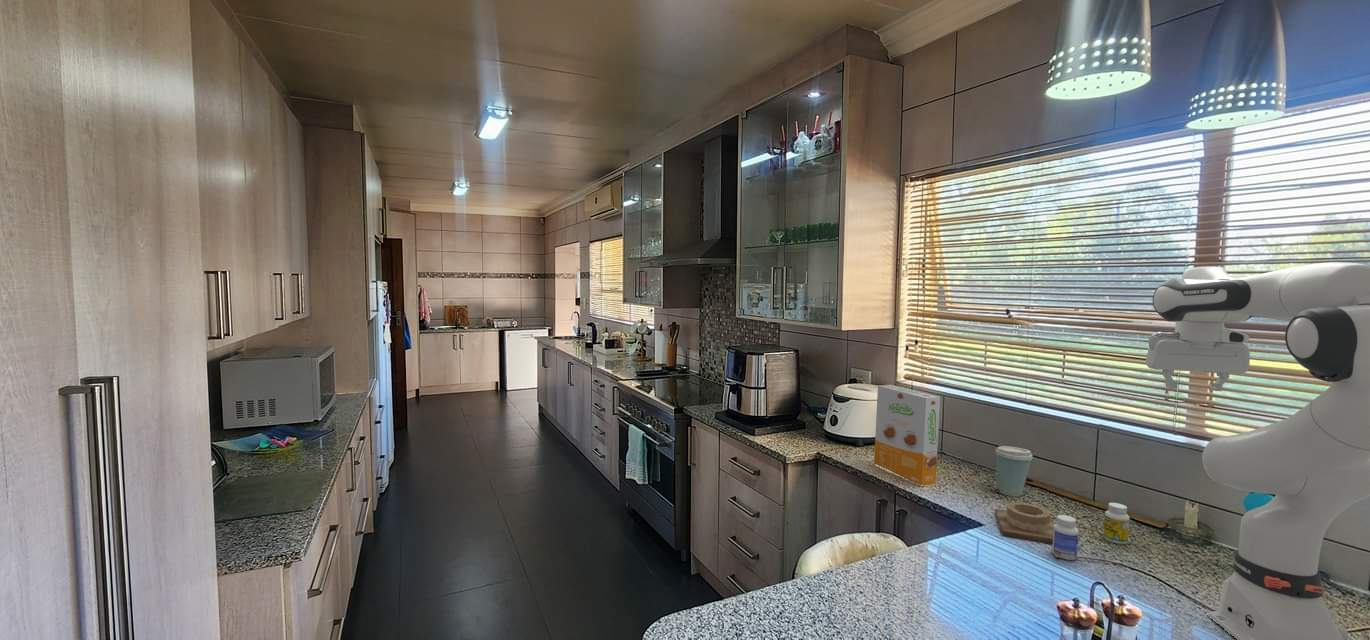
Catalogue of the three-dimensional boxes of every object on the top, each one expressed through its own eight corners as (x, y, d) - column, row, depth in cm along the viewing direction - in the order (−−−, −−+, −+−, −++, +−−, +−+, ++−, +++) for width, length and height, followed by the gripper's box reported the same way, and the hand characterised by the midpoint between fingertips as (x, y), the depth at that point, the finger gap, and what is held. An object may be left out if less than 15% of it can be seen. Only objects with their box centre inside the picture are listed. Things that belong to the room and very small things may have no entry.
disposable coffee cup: (985, 487, 192) (988, 443, 191) (1017, 487, 193) (1019, 443, 192) (1004, 499, 182) (1007, 453, 181) (1037, 499, 182) (1040, 453, 181)
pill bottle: (1081, 561, 142) (1084, 523, 141) (1057, 559, 143) (1059, 521, 142) (1071, 551, 147) (1074, 514, 147) (1047, 549, 148) (1050, 512, 148)
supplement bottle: (1132, 543, 153) (1135, 508, 152) (1118, 545, 151) (1121, 510, 150) (1112, 534, 158) (1115, 500, 157) (1098, 536, 156) (1100, 502, 156)
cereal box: (935, 484, 194) (940, 397, 191) (921, 487, 191) (926, 398, 189) (887, 464, 214) (891, 384, 212) (874, 466, 212) (877, 385, 209)
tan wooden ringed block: (1063, 545, 150) (1064, 525, 150) (1002, 535, 156) (1004, 516, 155) (1049, 522, 165) (1051, 503, 165) (995, 513, 170) (996, 495, 170)
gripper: (1157, 332, 139) (1153, 389, 140) (1257, 336, 135) (1251, 394, 136) (1142, 330, 145) (1138, 384, 146) (1237, 333, 141) (1232, 389, 142)
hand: (1193, 389), depth 141 cm, fingers open, 8 cm apart
